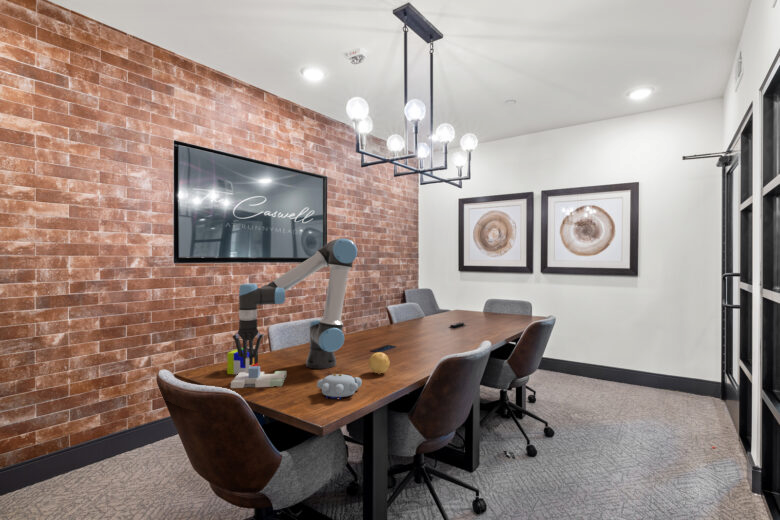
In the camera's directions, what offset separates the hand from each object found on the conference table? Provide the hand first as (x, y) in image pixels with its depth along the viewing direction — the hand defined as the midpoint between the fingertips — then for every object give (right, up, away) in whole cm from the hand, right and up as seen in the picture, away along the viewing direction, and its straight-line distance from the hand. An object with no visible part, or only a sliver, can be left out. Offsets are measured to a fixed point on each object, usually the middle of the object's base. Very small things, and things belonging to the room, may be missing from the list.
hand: (248, 372), depth 171 cm
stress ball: (+57, -5, +13) cm, 59 cm away
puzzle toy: (-8, -5, +16) cm, 19 cm away
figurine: (+42, -5, -13) cm, 44 cm away
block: (+3, -2, 0) cm, 3 cm away
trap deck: (+5, -5, +1) cm, 7 cm away
